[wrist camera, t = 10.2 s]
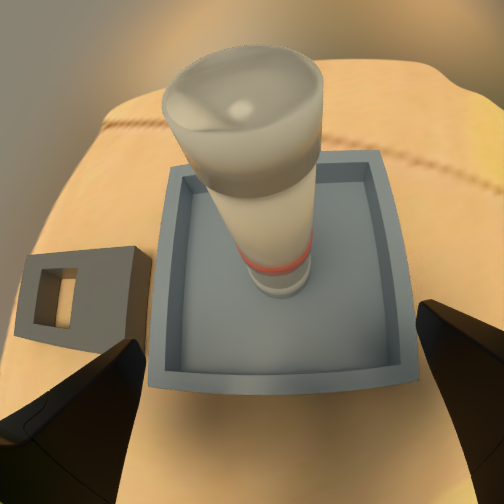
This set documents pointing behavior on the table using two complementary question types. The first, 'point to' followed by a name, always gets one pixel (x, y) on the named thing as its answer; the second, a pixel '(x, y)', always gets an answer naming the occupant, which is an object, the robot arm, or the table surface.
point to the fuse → (255, 152)
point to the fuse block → (86, 298)
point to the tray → (289, 309)
